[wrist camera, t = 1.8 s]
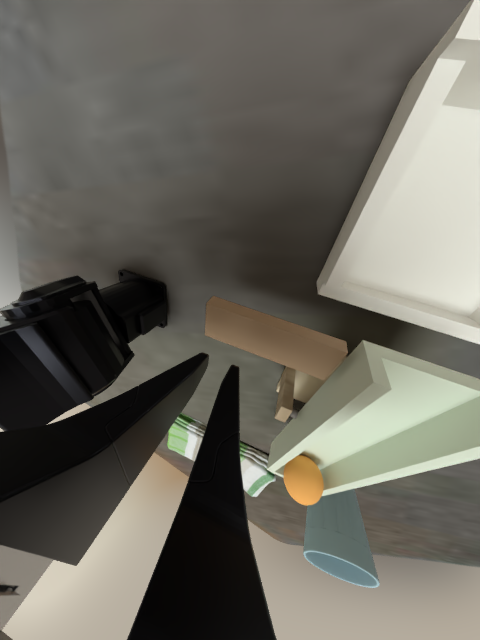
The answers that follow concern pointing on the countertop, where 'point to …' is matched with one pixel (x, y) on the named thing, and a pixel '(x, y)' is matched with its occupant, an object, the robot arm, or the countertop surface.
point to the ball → (303, 480)
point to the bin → (421, 200)
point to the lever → (359, 402)
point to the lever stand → (296, 390)
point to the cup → (339, 539)
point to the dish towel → (253, 462)
